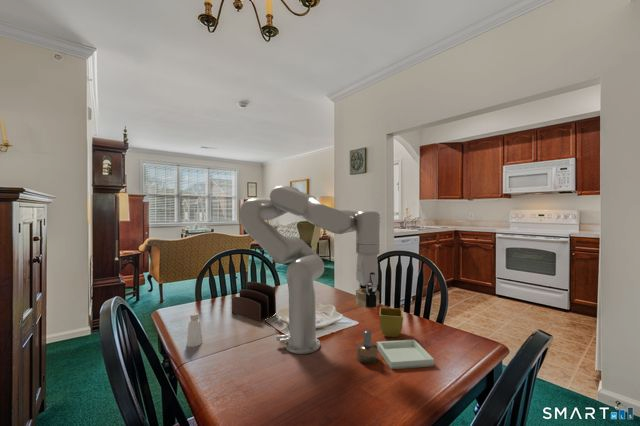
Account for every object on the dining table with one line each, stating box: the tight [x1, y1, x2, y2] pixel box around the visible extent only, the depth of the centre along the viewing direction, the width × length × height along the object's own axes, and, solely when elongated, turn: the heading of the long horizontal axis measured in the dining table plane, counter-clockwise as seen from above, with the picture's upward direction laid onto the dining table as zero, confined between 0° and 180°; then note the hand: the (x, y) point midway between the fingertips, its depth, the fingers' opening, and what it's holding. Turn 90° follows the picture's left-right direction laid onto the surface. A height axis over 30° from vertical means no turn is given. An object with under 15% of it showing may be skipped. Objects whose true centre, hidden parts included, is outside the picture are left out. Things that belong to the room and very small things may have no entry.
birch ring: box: [355, 287, 380, 308], centre depth 98 cm, size 7×7×4 cm
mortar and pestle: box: [356, 329, 379, 365], centre depth 98 cm, size 7×7×9 cm
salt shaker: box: [186, 312, 203, 348], centre depth 109 cm, size 5×5×11 cm
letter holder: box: [231, 281, 277, 323], centre depth 139 cm, size 10×20×14 cm, turn 54°
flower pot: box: [379, 307, 404, 338], centre depth 117 cm, size 9×9×9 cm
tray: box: [376, 339, 435, 370], centre depth 100 cm, size 14×14×2 cm
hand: (367, 302), depth 98 cm, fingers closed on birch ring, 7 cm apart
